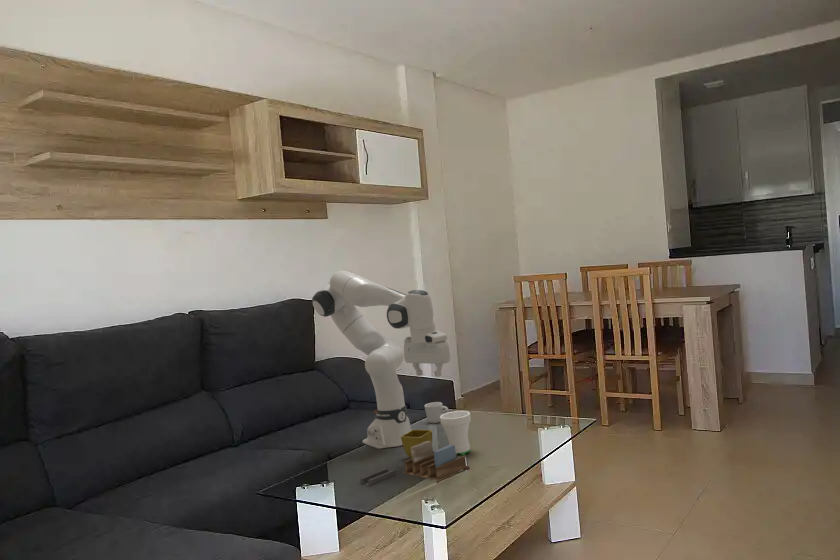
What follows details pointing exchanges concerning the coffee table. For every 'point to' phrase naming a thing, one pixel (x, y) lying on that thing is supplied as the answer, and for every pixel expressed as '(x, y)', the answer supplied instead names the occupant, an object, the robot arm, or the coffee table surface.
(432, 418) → the cup
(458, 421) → the cup
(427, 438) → the flower pot
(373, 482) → the stand
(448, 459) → the upright blue tile
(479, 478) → the coffee table surface
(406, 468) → the rack
